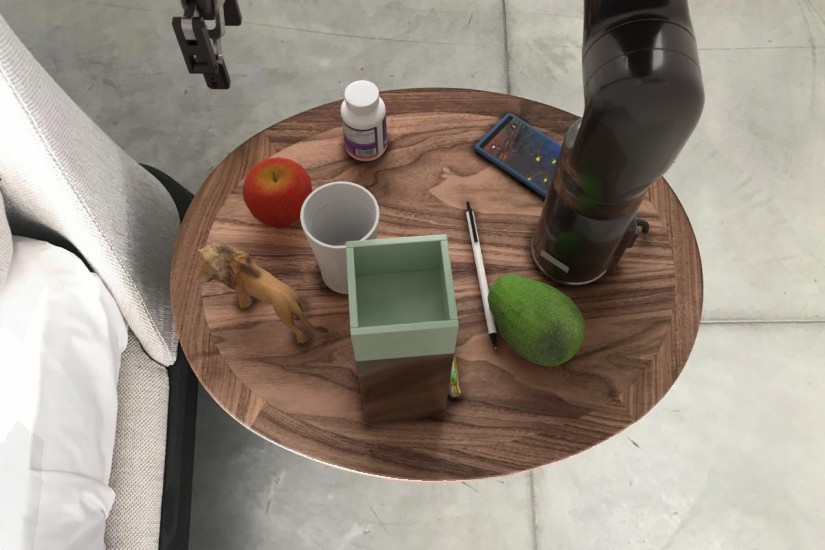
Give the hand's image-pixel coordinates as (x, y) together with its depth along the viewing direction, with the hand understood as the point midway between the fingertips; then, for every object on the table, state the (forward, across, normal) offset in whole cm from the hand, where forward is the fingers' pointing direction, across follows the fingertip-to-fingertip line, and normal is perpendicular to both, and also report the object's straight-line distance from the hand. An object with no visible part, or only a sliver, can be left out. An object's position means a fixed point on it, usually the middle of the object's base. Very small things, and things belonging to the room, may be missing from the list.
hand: (226, 54), depth 72 cm
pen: (+20, -14, -27) cm, 36 cm away
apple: (+20, -6, -3) cm, 21 cm away
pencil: (+20, -20, -23) cm, 36 cm away
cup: (+20, -14, -12) cm, 27 cm away
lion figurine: (+20, -19, -3) cm, 28 cm away
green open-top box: (+20, -27, -18) cm, 38 cm away
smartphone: (+19, +6, -28) cm, 35 cm away
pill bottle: (+20, +4, -13) cm, 24 cm away
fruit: (+14, -26, -36) cm, 46 cm away
